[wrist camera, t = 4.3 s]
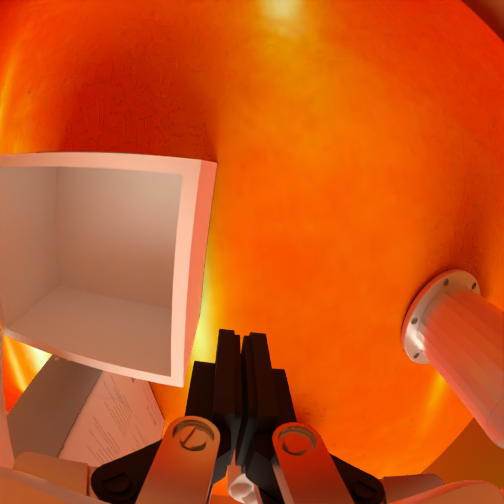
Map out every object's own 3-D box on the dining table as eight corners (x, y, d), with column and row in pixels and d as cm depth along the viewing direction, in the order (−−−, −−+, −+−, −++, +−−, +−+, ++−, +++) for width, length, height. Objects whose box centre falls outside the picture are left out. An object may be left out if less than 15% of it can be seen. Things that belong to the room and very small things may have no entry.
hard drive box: (73, 325, 26) (-24, 452, 7) (130, 325, 27) (43, 490, 8) (117, 418, 31) (77, 534, 12) (167, 422, 31) (142, 554, 12)
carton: (217, 161, 22) (201, 157, 13) (199, 315, 26) (183, 387, 17) (57, 152, 21) (-15, 155, 12) (58, 288, 25) (4, 334, 16)
